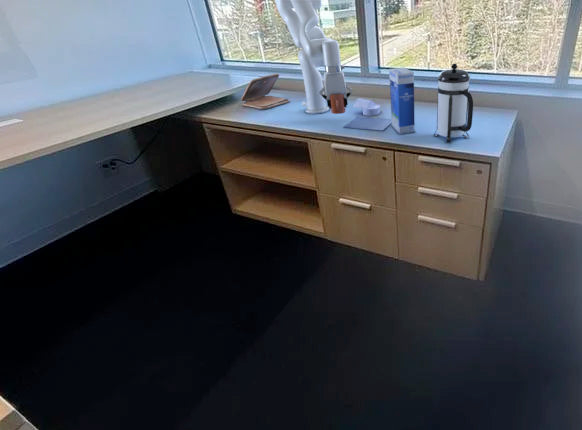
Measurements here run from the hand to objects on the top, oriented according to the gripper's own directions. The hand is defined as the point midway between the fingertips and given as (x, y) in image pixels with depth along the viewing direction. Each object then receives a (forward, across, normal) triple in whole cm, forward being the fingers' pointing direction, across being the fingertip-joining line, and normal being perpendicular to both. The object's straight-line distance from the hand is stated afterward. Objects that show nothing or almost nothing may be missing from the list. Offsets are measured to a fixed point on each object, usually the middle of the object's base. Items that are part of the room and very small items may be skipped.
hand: (337, 107), depth 186 cm
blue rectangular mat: (+7, -14, +9) cm, 18 cm away
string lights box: (+7, -28, +21) cm, 36 cm away
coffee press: (+7, -47, +38) cm, 61 cm away
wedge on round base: (+7, -16, -10) cm, 20 cm away
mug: (+2, 0, +1) cm, 3 cm away
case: (+7, +40, -44) cm, 60 cm away
